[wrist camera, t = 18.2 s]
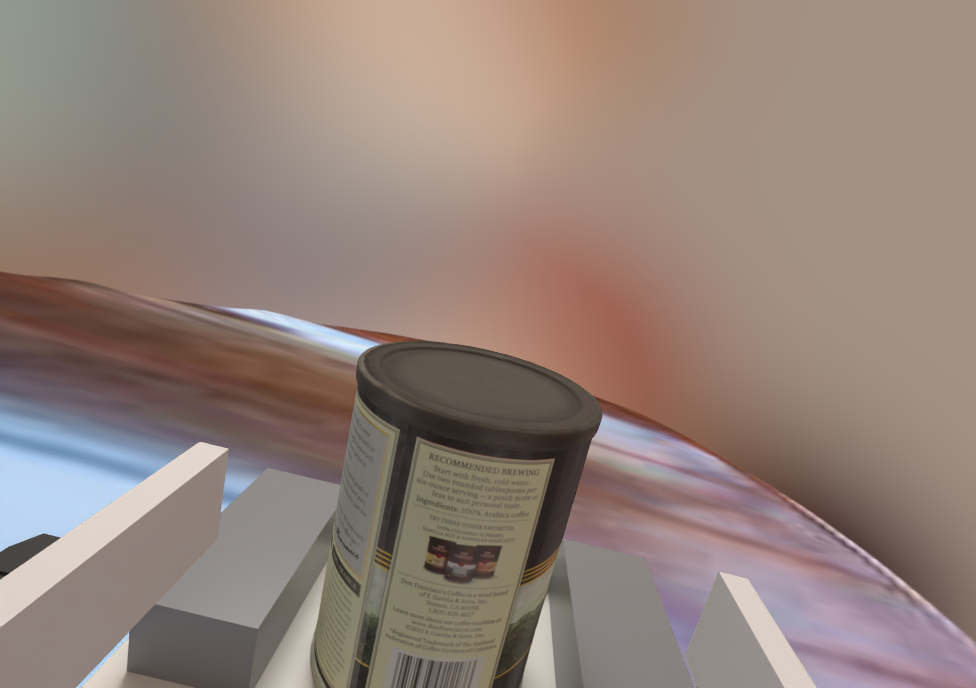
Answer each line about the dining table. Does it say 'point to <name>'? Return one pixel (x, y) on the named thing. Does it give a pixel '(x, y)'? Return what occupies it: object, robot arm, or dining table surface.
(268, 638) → the block
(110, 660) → the mounting board
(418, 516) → the coffee can
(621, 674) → the block
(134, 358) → the dining table surface
